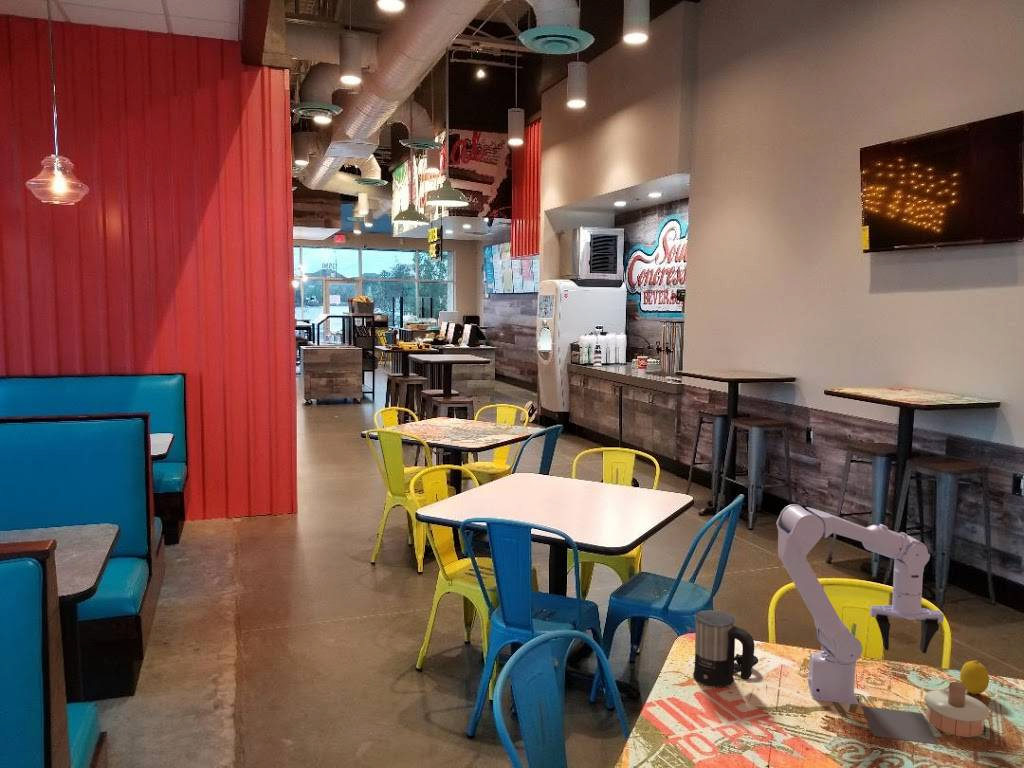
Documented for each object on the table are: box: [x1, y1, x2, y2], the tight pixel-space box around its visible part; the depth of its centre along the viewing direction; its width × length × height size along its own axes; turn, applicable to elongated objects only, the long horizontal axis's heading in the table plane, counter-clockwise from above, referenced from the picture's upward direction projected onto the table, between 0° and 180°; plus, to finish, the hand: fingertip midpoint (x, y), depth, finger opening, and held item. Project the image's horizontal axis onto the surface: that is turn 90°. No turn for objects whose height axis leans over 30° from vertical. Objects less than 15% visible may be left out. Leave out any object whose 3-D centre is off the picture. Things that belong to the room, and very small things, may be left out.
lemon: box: [959, 659, 990, 695], centre depth 174 cm, size 6×6×8 cm
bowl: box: [926, 705, 985, 738], centre depth 162 cm, size 10×10×4 cm
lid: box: [923, 681, 990, 722], centre depth 161 cm, size 12×12×5 cm
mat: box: [861, 705, 940, 745], centre depth 161 cm, size 12×12×1 cm
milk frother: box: [692, 609, 759, 688], centre depth 183 cm, size 14×16×15 cm
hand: (904, 649), depth 174 cm, fingers open, 7 cm apart
